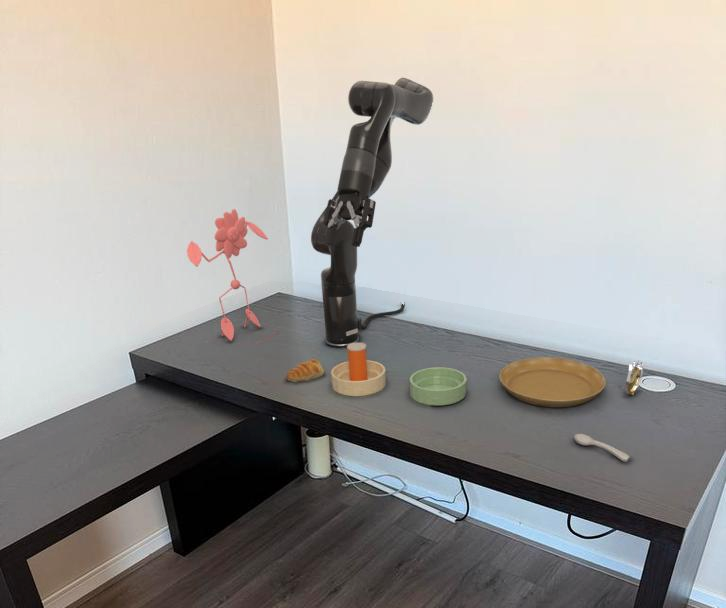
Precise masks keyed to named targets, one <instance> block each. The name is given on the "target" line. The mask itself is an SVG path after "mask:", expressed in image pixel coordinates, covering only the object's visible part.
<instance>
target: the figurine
mask: <svg viewBox="0 0 726 608" xmlns="http://www.w3.org/2000/svg"><path fill="white" fill-rule="evenodd" d="M214 225H215V227H216V228H217V230H216V232H215V234H214V240H216V241H215V251H216V252H219V253H217V254H215V255H214V256H213V257H210V258H208V257H207V256H206V255H205V254H204V253H203V251H202V249H201V247H200V246H199V245H198V243H196V242H194V241H193V240H191V241H190V243H189V244H187V249H186V255H187V257H188V259H189V261H190V262H191V263H192V265H194V266H195V267H196V268H197V267H199V265H200V263H201V261H202V258H204V260H205V261H206V262H208V263H211V262H212V261H213V260H215V259H217V258H218V257H220V256H221V255H222V254H224V255H225V258H226V259H227V262H228V264H229V267H230V270H231V273H232V276H233V279H232V280H231V281H230V288H229V289H227V291H225V292H224V293H223V294H221V295H220V296H219V298H218V300H219V304H220V307H221V312H222V314H223V318H222V319H221V320H220V329H221V337H222V338H223V337H224V336H225V337H226V338H227V339H228V341H230V342H232V341H233V339H234V335H235V327H234V325H233V323H232V321H231V320H230V319H229V318H227V317H226V314H225V310H224V307H223V303H222V299H221V298H222V297H224V296H225V295H226V294H228V293H229V292H230V291H232V290H238V289H239V288H240V287H241V288H243V289H244V293H245V300H246V305H247V308H246V309H245V313H246V318H245V321H244V325H243V326H244V328H247V324H248V320H250V321H251V322H252V324H253V325H255V326H257V327H258V328H261V326H262V325H261V324H260V321H259V319H258V317H257V316H256V314H254V312H253V311H251V310H250V306H249V305H250V304H249V300H248V294H247V287H245V286H243V285H242V284H241V282H240V280H238V279H237V278H236V274H235V271H234V267H233V264H232V262H231V260H230V259H231V257H232V256H234V257H238V256H239V255H240V251H241V249H245V248H246V247H247V246H248V242H247V239H246V238H245V237H246V236H247V234H248V228H249V229H250V230H251V231H252V233H254V234H255V235H257V237H259V238H260V239H261V238H262V239H264V240H269V238H268V237H267V235H266V234H265V232H263V230H262V229H261V228H260V227H259V226H258V225H256V224H254V223H253V222H251V221H247V220H246V217H244V216H241V217H240V218H239V214H238V212H237V210H236V209H235V208H233V209H232V210H231V211H230V212H229V211H224V212H223V217H218V218H216V219H215V220H214ZM277 328H278V329H277V332H275V333H274V334H272V335H271V336H269V337H267V338H266V339H263V340H259V341H256V342H252V343H251V345H253V344H258V343H261V342H265V341H266V340H270V339H271V338H272V337H274V336H275V335H276V334H277V333H280V331H279V327H277ZM205 342H206V343H208V341H206V340H205Z"/></svg>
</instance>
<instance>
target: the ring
mask: <svg viewBox="0 0 726 608" xmlns="http://www.w3.org/2000/svg"><path fill="white" fill-rule="evenodd" d="M628 365H629V366H628V373H627V378H626V382H625V394H627V395H629V396H634V395H635V393H636V391H637V390H638V388H639V386H640V383H641V380H642V377H643V371H644V367H645V364H643V361H640V360H637V361H636V360H634V361H633V362H629V364H628ZM633 371H635V372H634V373H633ZM632 374H633V375H632ZM633 383H634V384H633ZM632 386H633V387H632Z"/></svg>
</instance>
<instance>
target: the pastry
mask: <svg viewBox="0 0 726 608" xmlns="http://www.w3.org/2000/svg"><path fill="white" fill-rule="evenodd" d="M324 375H325V370H324V368H323V366H322V365H321V362H320V361H319V360H317V359H313V358H312V359H310V360H307V361H304V362H299V363H297V365H296V366H294V367H293V368H291V369H290V370H289V371H288V372H287V374H286V380H287V381H289V382H292V383H298V382H304V381H305V382H306V381H310V380H312V379H316V378H319V377H322V376H324Z"/></svg>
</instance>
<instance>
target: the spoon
mask: <svg viewBox="0 0 726 608" xmlns="http://www.w3.org/2000/svg"><path fill="white" fill-rule="evenodd" d="M573 439H574V441H575V442H576V443H577V444H579V446H583V447H587V446H590V445H591V446H596V447H600V448H602V449H604V450H605V451H607V452H608V453H611V454H612V455H614V456H615V457H616V458H618V459H619V460H620V461H621V462H623V463H627V462H628V461H629V460H630V455H629V454H627V453H625V452H623V451H621V450H620V449H617V448H616V447H613V446H611V445H609V444H607V443H605V442H601V441H598V440H595V439H593V438H592V437H591V436H589V435H587V434H584V433H576V434H575V435H574V436H573Z"/></svg>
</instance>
